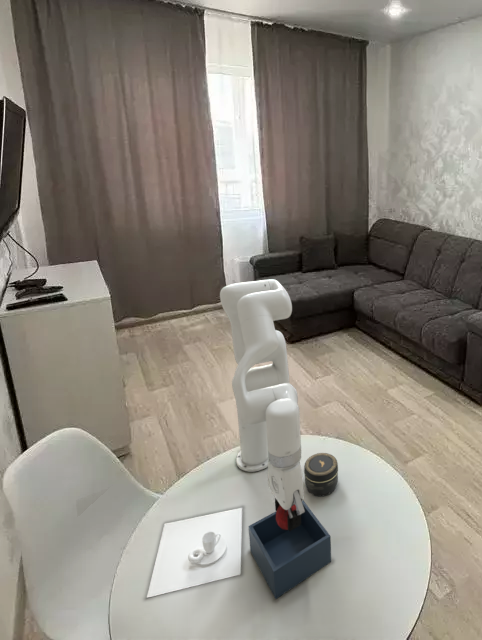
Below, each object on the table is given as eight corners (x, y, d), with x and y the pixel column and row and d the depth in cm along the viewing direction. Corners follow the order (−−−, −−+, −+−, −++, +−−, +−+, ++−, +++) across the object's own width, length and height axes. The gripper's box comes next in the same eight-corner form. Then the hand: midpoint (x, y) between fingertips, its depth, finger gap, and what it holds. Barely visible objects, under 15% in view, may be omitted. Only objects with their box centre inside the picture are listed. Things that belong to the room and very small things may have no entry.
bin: (250, 551, 103) (248, 526, 101) (302, 521, 111) (301, 497, 110) (275, 599, 91) (273, 571, 90) (331, 561, 100) (330, 535, 98)
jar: (323, 468, 130) (323, 447, 129) (345, 485, 124) (344, 463, 122) (298, 485, 123) (297, 463, 122) (319, 504, 117) (318, 481, 115)
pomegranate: (295, 540, 96) (294, 511, 94) (272, 535, 97) (270, 507, 95) (304, 519, 102) (303, 492, 100) (282, 515, 103) (280, 488, 101)
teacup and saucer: (187, 570, 98) (185, 556, 97) (191, 541, 105) (190, 528, 104) (226, 561, 100) (224, 547, 99) (227, 533, 107) (226, 520, 107)
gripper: (254, 439, 99) (259, 502, 103) (286, 482, 86) (290, 553, 90) (283, 427, 104) (286, 488, 108) (317, 467, 90) (320, 534, 94)
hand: (288, 517), depth 99 cm, fingers closed on pomegranate, 5 cm apart
